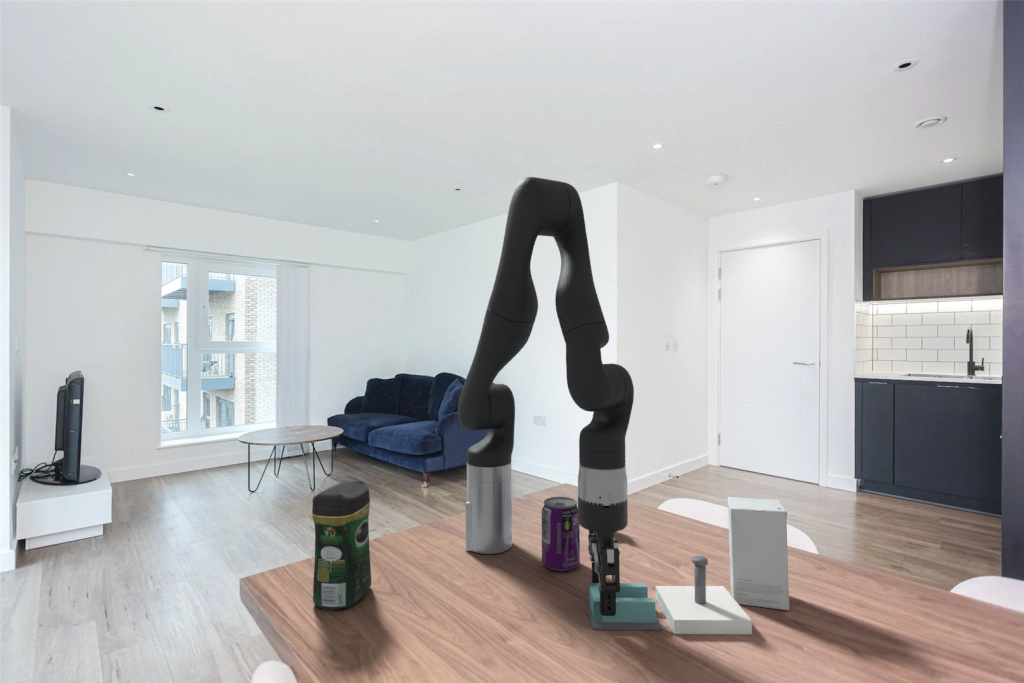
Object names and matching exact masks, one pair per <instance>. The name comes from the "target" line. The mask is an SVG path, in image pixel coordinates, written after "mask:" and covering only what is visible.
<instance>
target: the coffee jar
mask: <svg viewBox="0 0 1024 683" xmlns="http://www.w3.org/2000/svg"><path fill="white" fill-rule="evenodd" d="M370 507H371V498H370V489H369V487H368V485H367V484H366V483H365V482H364V481H361V480H345V479H344V480H341V481H340V482H338V483H335V484H334V485H332V486H329V487H328V488H326V489H324V490H322V491H321V492H318V493H317V494H316V495H314V496H313V497H312V510H311V511H312V512H311V515H312V520H313V525H314V533H315V534H314V567H313V568H314V569H313V585H312V586H313V587H312V602H313V605H315V606H317V607H319V608H321V609H324V610H328V611H329V610H331V611H334V610H335V611H337V610H340V609H341V610H342V609H347V608H352V606H354V605H356V604H357V603H358V602H359V601H361V600H362V598H363V597H364V596H365V595H366V594H367V592H368V591H369V589H370V588H371V586H372V567H371V554H370V553H371V552H370V531H369V529H370V528H369V526H370V525H369V521H370V520H369V519H370V518H369V515H370Z"/></svg>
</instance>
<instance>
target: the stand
mask: <svg viewBox="0 0 1024 683" xmlns="http://www.w3.org/2000/svg"><path fill="white" fill-rule="evenodd" d="M691 558H692V560H691V561H692V563H693V564H694V585H655V586H654V587H655V589H654V591H655V600H656V602H657V604H658V606H659V608H660V609H661V611H662V614H663V616H664V618H665V619H666V621H667V623H668V625H669V626H670V629H671V630H672V632H673V635H752V634H753V628H752V625H753V623H752V622H753V621H752V619H751V618H750V616H749V615H748V614H747V613H746V611H745V610H744V609H743V608H742V607H741V605H740V604H738V603H737V602H736V601H735V600H734V598H733V596H732V594H730V592H729V591H728V590H727V589H726V588H725V586H724V585H722V586H721V585H715V586H714V585H711V586H710V585H707V581H706V580H707V579H706V577H707V576H706V575H707V574H706V573H707V572H706V570H707V568H706V566H708V565H709V564H708V563H709V561H708V560H709V559H708V558H707V557H705V556H703V555H693V556H692V557H691Z"/></svg>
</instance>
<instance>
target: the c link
mask: <svg viewBox="0 0 1024 683" xmlns="http://www.w3.org/2000/svg"><path fill="white" fill-rule="evenodd" d="M648 589H649V588H648V585H647V583H646V582H639V583H638V582H637V583H636V582H635V583H634V582H632V583H631V582H630V583H629V582H628V583H627V582H620V592H616V614H615V615H614V616H602V615H601V612H600V588H599V583H592V582H589V583H588V599H589V603H590V607H591V611H592V615H593V619H594V622H644V623H655V615H656V601H655V599H654V597H648V596H649V595H648Z"/></svg>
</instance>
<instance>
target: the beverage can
mask: <svg viewBox="0 0 1024 683" xmlns="http://www.w3.org/2000/svg"><path fill="white" fill-rule="evenodd" d="M580 526H581V525H580V524H579V522H578V500H576V499H574V498H572V497H568V496H550V497H547V498H545V499H544V500H543V507H542V508H541V563H542V564H543V565H544V566H545V567H547V568H549V569H551V570H553V571H557V572H567V571H571V570H573V569H575V568H577V567H578V566H579V565H580V564H581V558H580V557H581V556H580V555H581V545H580V543H581V542H580V540H581V538H580V537H581V536H580V530H581V529H580Z"/></svg>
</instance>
